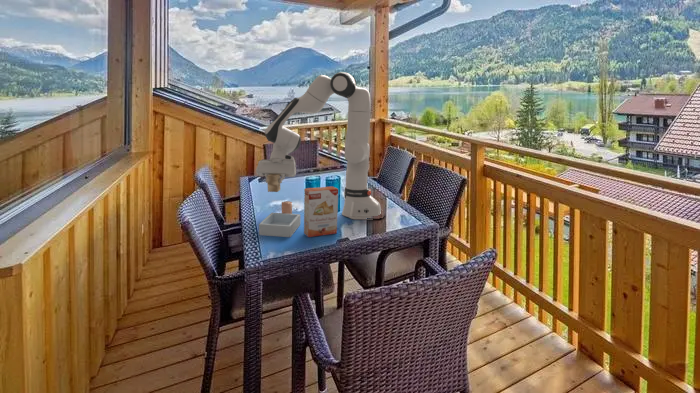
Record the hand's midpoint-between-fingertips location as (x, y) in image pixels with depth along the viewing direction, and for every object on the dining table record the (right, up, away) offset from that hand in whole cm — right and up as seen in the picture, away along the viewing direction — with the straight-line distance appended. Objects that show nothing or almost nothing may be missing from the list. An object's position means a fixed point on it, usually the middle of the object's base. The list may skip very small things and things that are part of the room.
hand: (273, 182), depth 202 cm
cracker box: (+25, -24, -21) cm, 41 cm away
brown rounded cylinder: (+7, -19, -4) cm, 21 cm away
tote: (+7, -22, -17) cm, 29 cm away
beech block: (0, -4, +2) cm, 4 cm away
